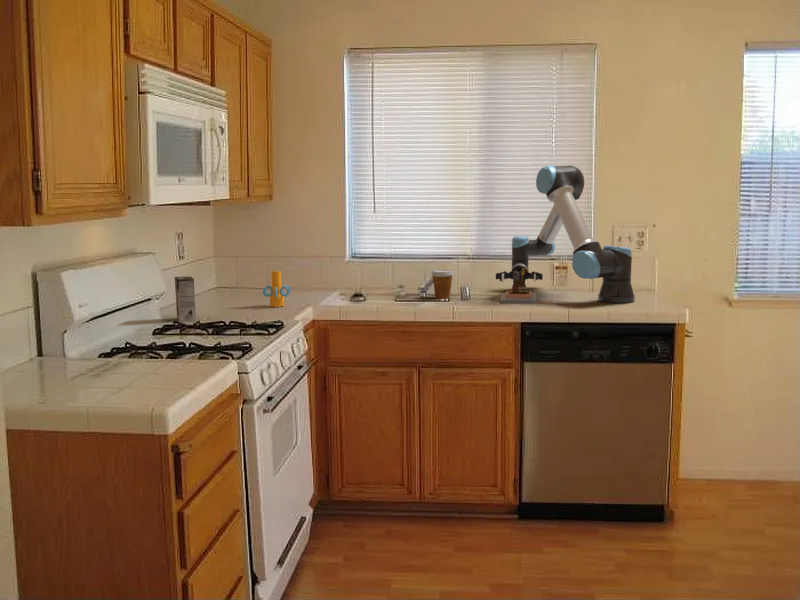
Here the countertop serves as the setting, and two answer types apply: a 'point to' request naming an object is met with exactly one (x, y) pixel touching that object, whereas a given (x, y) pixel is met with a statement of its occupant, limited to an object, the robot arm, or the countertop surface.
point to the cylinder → (276, 290)
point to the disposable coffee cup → (442, 283)
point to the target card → (518, 298)
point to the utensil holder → (519, 285)
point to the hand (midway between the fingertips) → (518, 278)
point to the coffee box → (185, 298)
